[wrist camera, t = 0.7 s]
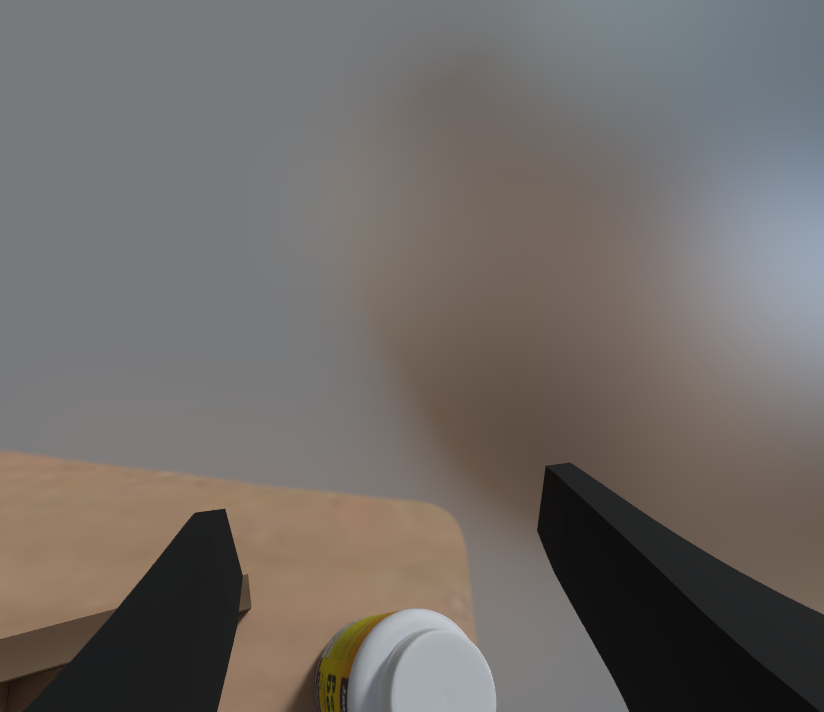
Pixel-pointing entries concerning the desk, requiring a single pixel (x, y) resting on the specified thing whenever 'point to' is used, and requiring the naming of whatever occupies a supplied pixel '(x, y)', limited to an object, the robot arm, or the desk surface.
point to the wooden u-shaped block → (58, 645)
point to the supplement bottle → (403, 667)
